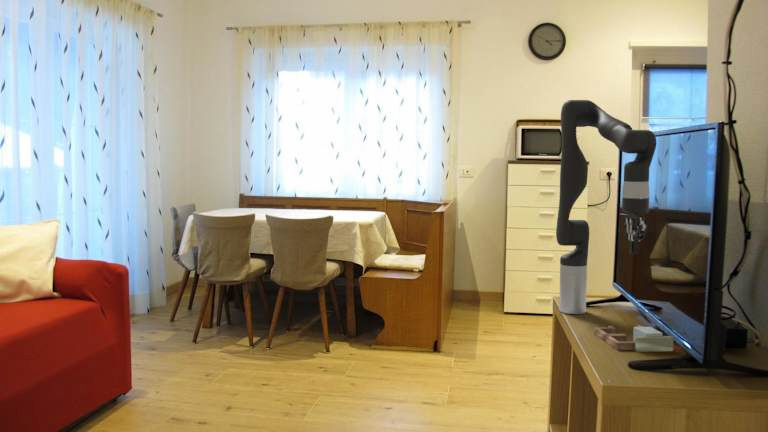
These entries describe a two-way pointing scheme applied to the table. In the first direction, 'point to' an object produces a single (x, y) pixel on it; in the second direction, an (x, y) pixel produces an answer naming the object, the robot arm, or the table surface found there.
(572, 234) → the robot arm
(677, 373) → the table surface
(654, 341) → the trap lane
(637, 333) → the blue grey block
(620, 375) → the table surface
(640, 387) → the table surface
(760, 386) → the table surface
